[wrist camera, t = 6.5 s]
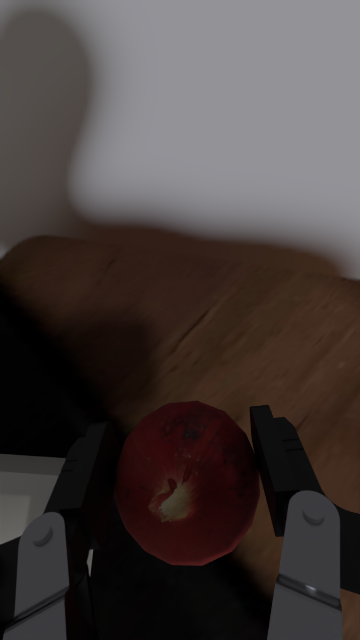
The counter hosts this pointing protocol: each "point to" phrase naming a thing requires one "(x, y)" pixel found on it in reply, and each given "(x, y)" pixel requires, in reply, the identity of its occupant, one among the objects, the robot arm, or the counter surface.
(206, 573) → the counter surface
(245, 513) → the onion
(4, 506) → the tray
